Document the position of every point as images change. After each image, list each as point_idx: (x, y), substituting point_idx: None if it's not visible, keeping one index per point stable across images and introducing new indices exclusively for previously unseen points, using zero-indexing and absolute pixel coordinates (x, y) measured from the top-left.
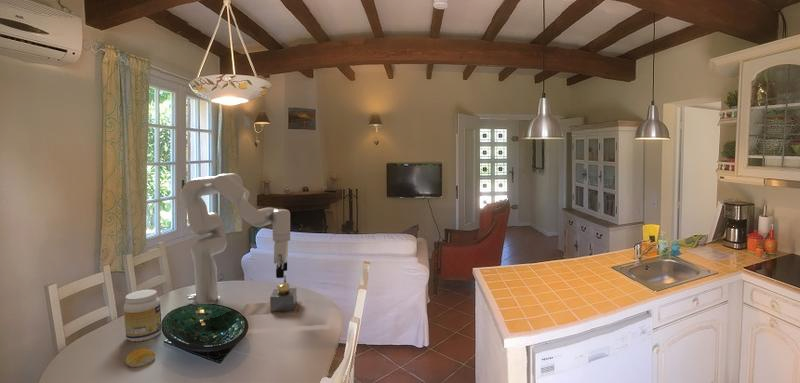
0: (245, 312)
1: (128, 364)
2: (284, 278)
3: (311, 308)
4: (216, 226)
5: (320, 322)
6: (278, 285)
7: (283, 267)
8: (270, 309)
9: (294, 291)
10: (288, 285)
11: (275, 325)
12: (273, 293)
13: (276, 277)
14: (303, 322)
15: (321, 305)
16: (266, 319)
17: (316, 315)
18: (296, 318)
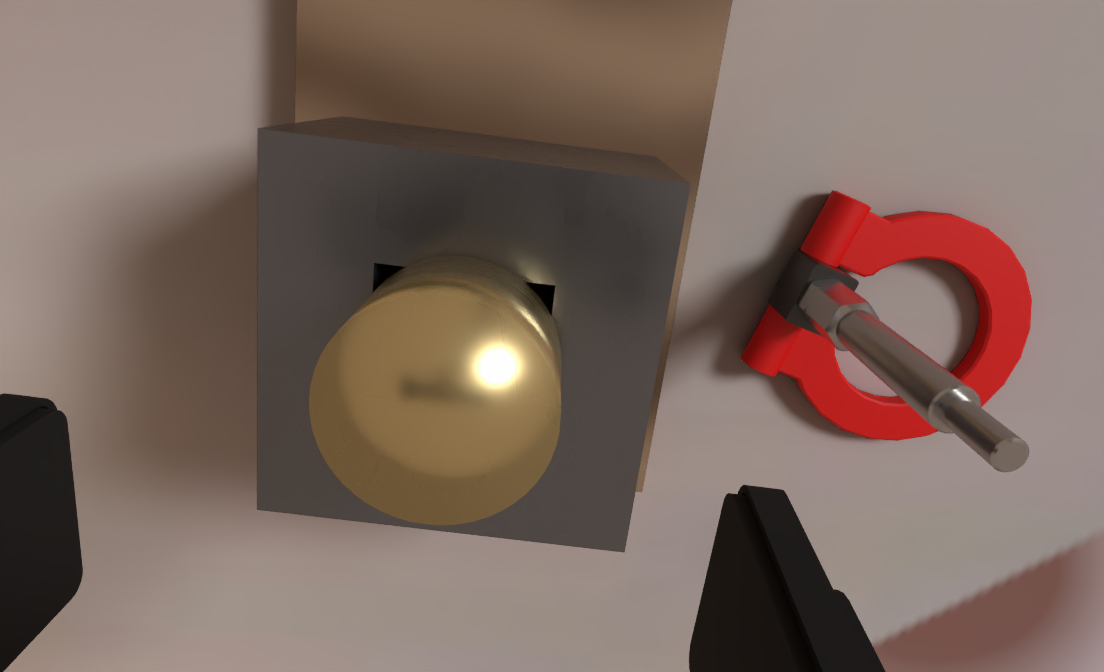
0: None
1: None
2: (960, 416)
3: (480, 566)
4: None
5: (102, 627)
6: (423, 320)
7: (723, 660)
8: (450, 107)
9: (467, 525)
10: (386, 512)
11: (56, 189)
12: (444, 182)
13: (10, 400)
14: (115, 480)
15: (540, 661)
16: (244, 65)
17: (279, 603)
18: (228, 414)
